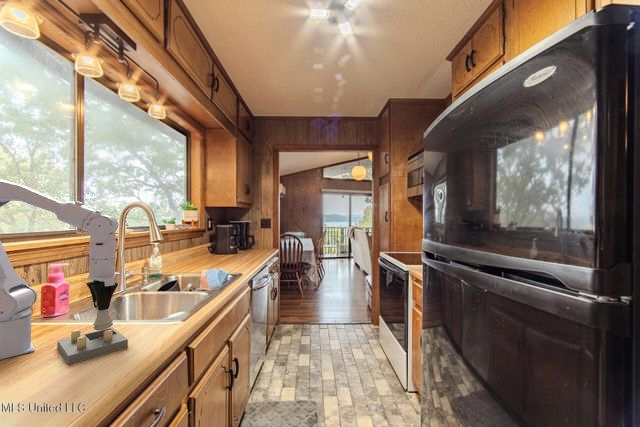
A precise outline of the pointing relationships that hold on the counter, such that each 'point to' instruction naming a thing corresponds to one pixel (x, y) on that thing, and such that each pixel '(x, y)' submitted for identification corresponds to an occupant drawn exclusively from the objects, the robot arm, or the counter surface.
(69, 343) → the pin board
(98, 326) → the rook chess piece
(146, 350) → the counter surface
